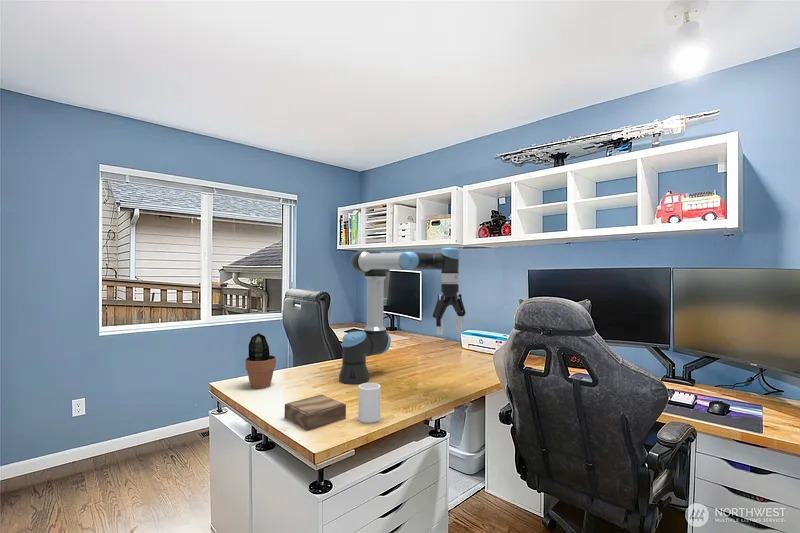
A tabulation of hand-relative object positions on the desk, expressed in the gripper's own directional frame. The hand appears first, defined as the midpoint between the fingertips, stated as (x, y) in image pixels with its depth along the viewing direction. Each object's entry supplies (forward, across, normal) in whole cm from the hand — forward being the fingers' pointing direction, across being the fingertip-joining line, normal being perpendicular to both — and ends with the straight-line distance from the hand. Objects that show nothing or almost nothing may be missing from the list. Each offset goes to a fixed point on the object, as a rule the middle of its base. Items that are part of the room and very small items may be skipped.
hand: (449, 332), depth 166 cm
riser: (+28, -54, +20) cm, 64 cm away
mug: (+28, -39, +7) cm, 49 cm away
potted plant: (+28, -51, +71) cm, 92 cm away
